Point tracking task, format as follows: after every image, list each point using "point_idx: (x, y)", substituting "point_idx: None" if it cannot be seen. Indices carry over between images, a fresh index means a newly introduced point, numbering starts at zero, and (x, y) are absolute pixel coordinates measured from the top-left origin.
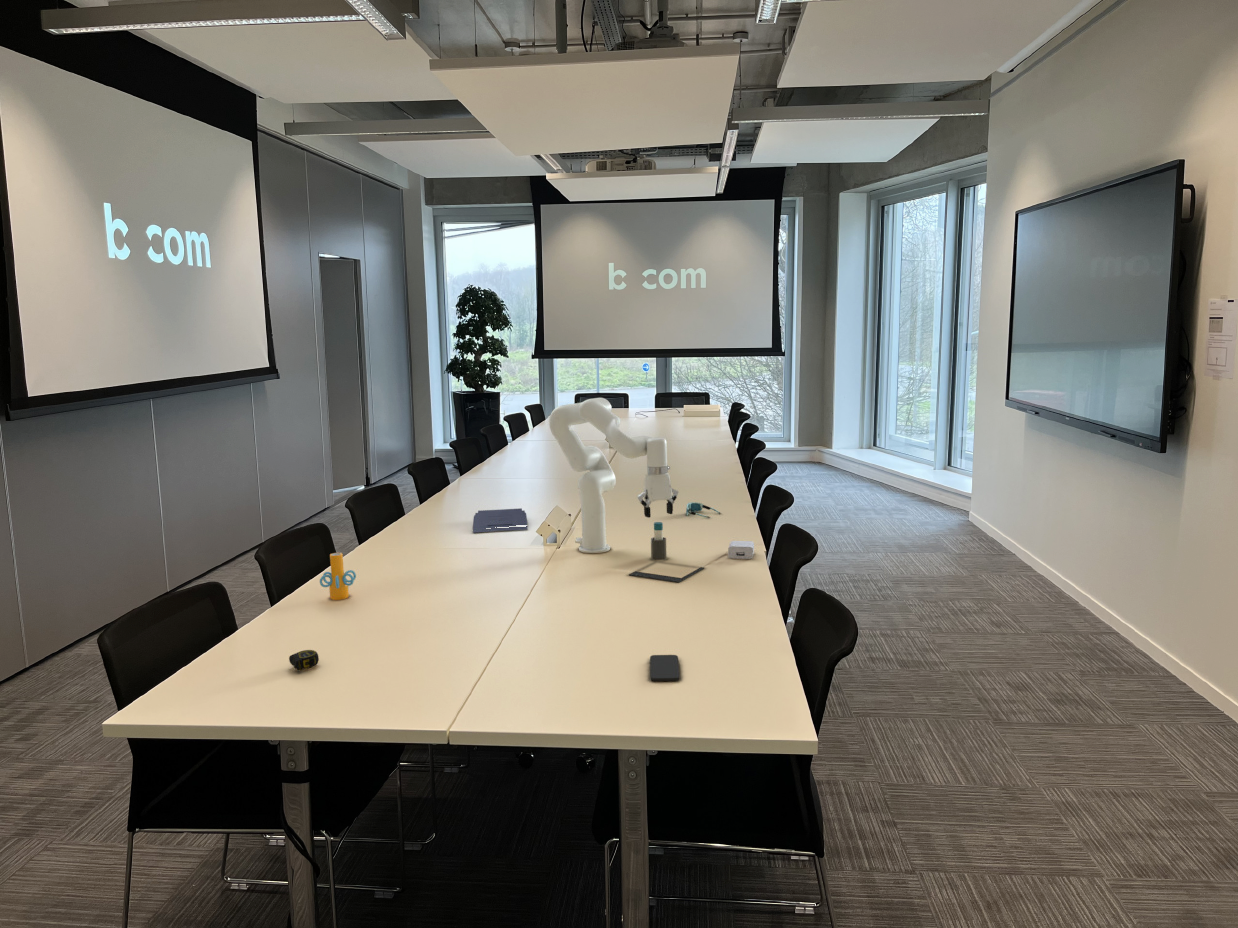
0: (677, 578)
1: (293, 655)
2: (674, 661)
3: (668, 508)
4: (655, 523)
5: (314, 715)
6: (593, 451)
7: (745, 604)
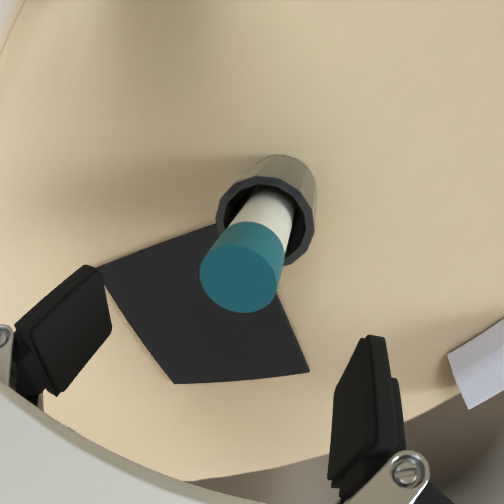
0: (184, 373)
1: None
2: None
3: (349, 409)
4: (207, 276)
5: None
6: None
7: (207, 463)
